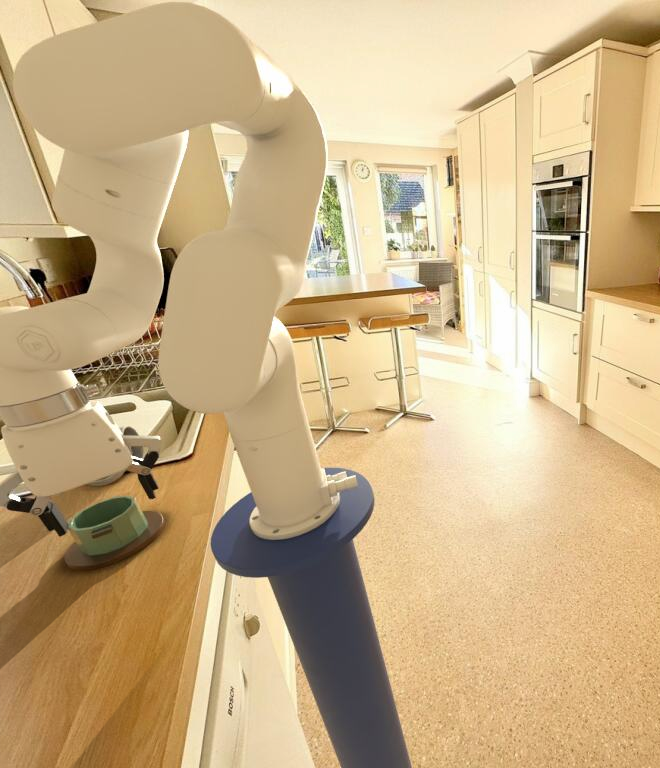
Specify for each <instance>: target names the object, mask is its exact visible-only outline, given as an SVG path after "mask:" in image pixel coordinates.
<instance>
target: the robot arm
mask: <svg viewBox="0 0 660 768" xmlns="http://www.w3.org/2000/svg"><path fill="white" fill-rule="evenodd" d="M12 89H13V95H14V100H15V101H16V104H17V106H18V108H19V110H20V113H21V114H22V115H23V117H24V118H25V120H26V122H27V123H29V125H30V126H31V127H32V128H33V129H34V130H35V131H36V132H37V133H38V134H39V135H40V136H42V137H43V138H44V139H45V140H47V141H48V142H49V143H52V144H54V145H55V146H57V147H59V148H61V149H62V150H63V155H62V160H61V164H60V167H59V171H58V175H57V178H56V183H55V187H54V190H53V194H52V198H51V207H52V211H53V212H54V213H55V215H56V217H58V218H59V220H61V221H62V222H63V223H65V224H66V225H67V226H69V227H71V228H72V229H74V230H76V231H78V232H80V233H82V234H85V235H86V236H88V237H89V238H90V239H91V241H92V242H93V245H94V248H95V253H96V256H95V257H96V260H95V267H94V271H93V274H92V278H91V281H90V284H89V287H88V289H87V292H86V293H82V294H79V295H74V296H70V297H66V298H62V299H58V300H55V301H51V302H47V303H43V304H39V305H36V306H33V307H28V306H24V305H10V306H0V419H1V420H2V421H3V423H4V425H3V426H1V428H0V433H1V437H2V440H3V442H4V445H5V447H6V450H7V452H8V455H9V457H10V459H11V461H12V463H13V465H14V467H15V469H16V470H15V471H14V472H13V473H11V474H10V475H9V476H7V477H6V478H5V479H3V481H1V482H0V507H3V508H5V509H6V510H8V511H11V512H17V513H26V514H30V515H31V516H33V517H38V519H39V520H40V521H41V523H42V524H43V526H44V527H45V528H46V530H47V531H48V532H53V531H55V533H56V534H57V536H58V537H63V536H64V535H66V534H68V528H67V527H68V523H69V521H68V520H67V519H66V518H65V516H64V515H63V513H62V512H61V510H60V509H59V507H58V506H57V504H56V503H55V502H52V501H51V499H52V497H53V496H56V495H59V494H63V493H65V492H68V491H72V490H74V489H76V488H77V489H78V488H80V487H83V486H86V485H89V484H88V483H91V482H94V481H98V480H102V479H105V478H107V477H109V476H111V475H113V474H116V473H118V472H121V471H123V470H125V471H126V472H130V473H134V474H137V479H138V482H139V483H140V485H141V487H142V489H143V491H144V492H145V495H146V496H147V499H149V500H154V499H156V498H157V496H156V491H157V490H159V489H160V488H159V484H158V482H157V481H156V479H155V477H154V475H153V473H152V469H153V467H154V466H155V464H156V463H157V461H158V459H159V458H160V452H161V448H162V443H163V442H162V438H161V436H158V435H139V436H132V435H123V434H122V432H121V431H120V429H119V426H118V425H117V423H116V422H115V420H114V419H113V417H112V416H111V415H110V413H109V412H108V410H107V409H105V407H104V405H102V404H101V403H100V401H98V400H96V399H95V400H93V399H92V400H90V399H91V397H94V396H95V395H99V394H101V391H100V389H99V387H98V385H97V384H96V383H93V384H90V385H89V384H86V385H84V384H83V383H82V384H81V383H80V381H78V379H77V378H76V376H75V375H74V373H73V370H75V369H79V368H83V367H85V366H87V365H90V364H92V363H94V362H96V361H98V360H101V359H104V358H105V357H107V356H108V355H110V354H112V353H114V352H116V351H119V350H122V349H123V348H126V347H128V346H130V345H132V344H134V343H136V342H138V341H139V340H140V339H141V338H142V337H143V336H144V335H145V334H146V333H147V332H148V329H149V328H150V326H151V325H152V322H153V320H154V317H155V314H156V312H157V309H158V305H159V303H160V299H161V296H162V294H163V291H164V290H163V289H164V284H165V283H164V282H165V277H164V275H165V273H164V267H163V261H162V260H163V259H162V255H161V250H160V249H159V246H158V236H159V233H160V229H161V226H162V223H163V220H164V218H165V213H166V210H167V207H168V204H169V201H170V199H171V195H172V192H173V189H174V186H175V183H176V181H177V178H178V174H179V171H180V168H181V164H182V162H183V158H184V155H185V152H186V149H187V144H188V138H189V131H192V130H194V129H197V128H201V127H206V126H209V125H213V124H216V125H218V126H222V127H224V128H227V129H230V130H233V131H236V132H239V134H240V135H242V136H243V137H244V138H245V140H246V151H245V155H244V158H243V160H242V162H241V164H240V166H239V169H238V170H237V171H238V172H237V174H236V177H235V182H234V186H233V194H232V201H231V205H230V208H229V214H228V217H227V221H226V224H225V226H224V228H223V229H216V230H211V231H208V232H204V233H202V234H200V235H198V236H196V237H195V238H192V240H190V241H189V242H188V243H187V244H185V246H184V247H183V248H182V250H180V252H179V254H178V256H177V258H176V259H175V261H174V264H173V266H172V270H171V273H170V277H169V282H168V289H167V295H166V302H165V309H164V315H163V323H162V328H161V336H160V341H159V342H160V343H159V349H158V361H157V362H158V372H159V377H160V380H161V382H162V385H163V387H164V389H165V390H166V392H167V393H168V395H169V396H170V397H171V398H172V399H173V400H174V401H175V402H176V403H177V404H179V405H180V406H182V407H183V408H185V409H187V410H190V411H192V412H195V413H199V414H202V415H219V414H223V416H224V419H225V423H226V426H227V428H228V431H229V435H230V438H231V440H232V443H233V446H234V448H235V451H236V455H237V457H238V459H239V462H240V465H241V468H242V470H243V473H244V476H245V478H246V481H247V485H248V487H249V489H250V492H252V495H253V498H254V501H255V503H256V507H255V508H254V510H253V512H252V513H251V516H250V519H249V524H250V527H251V529H252V531H253V533H254V534H255V535H257V536H258V537H260V538H263V539H269V540H282V539H288V538H292V537H296V536H299V535H302V534H304V533H307V532H309V531H311V530H313V529H315V528H317V527H318V526H320V525H321V524H323V523H324V522H325V521H326V520H327V519H329V518H330V517H331V516H332V515H333V513H334V512H335V511H336V509H337V508H338V505H339V503H340V495H339V492H342V491H345V490H350V489H353V488H356V487H358V484H357V480H356V476H355V475H354V476H351V477H348V478H347V475H346V471H345V472H342V473H338V474H336V475H333V476H330V475H327V476H326V474H325V470H324V468H325V467H321V463H320V459H319V455H318V452H317V449H316V448H317V447H316V445H315V440H314V438H313V434H312V430H311V426H310V422H309V419H308V414H307V410H306V408H305V404H304V403H305V402H304V400H303V396H302V392H301V385H300V381H299V374H298V367H297V360H296V352H295V351H296V350H295V347H294V343H293V339H292V337H291V335H290V333H289V332H288V329H287V328H286V326H285V325H284V324H283V323H282V322H281V321H280V320H279V319H278V318H277V317H276V314H277V311H278V310H280V309H282V308H283V307H284V306H286V305H287V304H288V303H290V302H292V300H293V299H295V297H296V296H297V295H298V294H299V292H300V290H301V288H302V286H303V282H304V277H305V272H306V267H307V262H308V258H309V253H310V249H311V246H312V241H313V237H314V232H315V230H316V229H315V228H316V223H317V218H318V213H319V210H320V205H321V201H322V197H323V192H324V187H325V183H326V180H327V179H326V178H327V171H328V163H329V161H328V159H329V157H328V155H329V154H328V143H327V139H326V138H327V137H326V134H325V130H324V128H323V124H322V121H321V119H320V117H319V114H318V112H317V111H316V109H315V107H314V106H313V104H312V102H311V101H310V99H309V97H307V95H306V93H304V91H303V90H302V88H301V87H300V86H299V85H298V84H297V82H296V81H295V80H294V79H293V78H292V77H291V75H289V73H288V72H287V71H286V70H285V69H284V68H283V67H282V66H281V65H280V64H279V63H278V62H277V61H276V60H275V59H273V57H271V55H269V53H267V52H266V51H265V50H264V49H263V48H262V47H260V46H259V45H257V43H255V42H254V41H253V39H251V38H250V37H249V36H247V34H246V33H245V32H243V30H241V29H240V28H239V27H238V26H236V25H235V24H234V23H233V22H232V21H230V20H228V19H227V18H226V17H224V16H223V15H222V14H221V13H219V12H216V11H214V10H212V9H210V8H208V7H206V6H203V5H199V4H196V3H192V2H188V1H187V2H186V1H185V2H184V1H167V2H160V3H157V4H153V5H149V6H145V7H141V8H139V9H135V10H133V11H129V12H126V13H123V14H119V15H116V16H113V17H109V18H106V19H103V20H99V21H96V22H93V23H92V22H91V23H89V24H86V25H82V26H79V27H76V28H73V29H69V30H67V31H63V32H61V33H57V34H54V35H52V36H50V37H47V38H45V39H43V40H42V41H40V42H38V43H36V44H34V45H32V46H31V47H30V48H28V49H27V50H26V51H25V52H24V53H23V54H22V55H21V56H20V58H19V59H18V61H17V63H16V65H15V68H14V72H13V73H12ZM130 446H144V447H147V448H148V449H147V452H146V454H144V459H140V458H136V457H133V456H131V455H132V450H131V448H130ZM321 468H322V469H321ZM22 483H24V485H25V486H26V488H27V490H28V491H29V492H30V493H31V495H33V496H34V498H32V497H26V496H19V495H18V496H17V495H14V494H13V493H11V492H12V491H13V490H14V489H16V488H17V487H18V486H20V485H21V484H22Z"/></svg>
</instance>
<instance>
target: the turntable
mask: <svg viewBox="0 0 660 768" xmlns="http://www.w3.org/2000/svg"><path fill="white" fill-rule="evenodd" d="M142 512H143V514H144V516H145V518H146V520H147V529H146V530H145V531H144V532H143V533H142V534H141V535H140V536H139V537H138V538H137V539H135V540H133V541H132V542H130V543H129V544H127V545H125V546H124V547H121V548H119V549H116V550H114V551H111V552H109V553H105V554H100V555H92V556H89V555H87V554H85V553H83V552H82V551H81V550H80V548H79V546H78V545H77V543H76V541H75V540H74V542H72V544H71V545H70V546H69V547H68V548H67V550H66V551H65V553H64V556H63V557H64V558H63V559H64V562H65V564H66V565H67V567H68V568H70V569H71V570H75V571H91V570H96V569H101V568H104V567H107V566H110V565H114V564H116V563H118V562H120V561H123V560H126V559H127V558H129V557H131V556H133V555H135V554H136V553H137V552H140V551H141V550H143V549H144V548H146V547H147V546H148V545H150V544H151V543H152V542H154V540H156V539H157V537H159V535H160V534H161V533H162V531H163V530H164V528H165V525H166V524H165V523H166V522H165V519H164V517H163V515H162V514H161V513H160V512H158V511H154V510H142Z"/></svg>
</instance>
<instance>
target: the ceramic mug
mask: <svg viewBox="0 0 660 768" xmlns="http://www.w3.org/2000/svg"><path fill="white" fill-rule="evenodd" d="M118 427H119V426H118ZM119 429H120V431H121V432H122V434H123V435H132V436H140V435H139V433H138V432H137V430H136V429H135V428H134V427H132V426H130V425H124V426H120V427H119ZM130 448H131V450H132V455H131V456H133V457H136V458H140V459H144V457H145V446H130ZM125 472H126V470H123V471H121V472H118V473H116V474H113V475H111V476H108V477H105V478H102V479H99V480H97V481H94V482H91V483H88V484H87V485H89V486H92V487H104V486H107V485H110V484H112V483H115V482H117V480H119V479H120V478H121V477H122V476H123V475H124V473H125Z"/></svg>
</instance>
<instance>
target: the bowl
mask: <svg viewBox="0 0 660 768" xmlns="http://www.w3.org/2000/svg"><path fill="white" fill-rule="evenodd" d="M136 498H137V497H134V496H131V495H118V496H112V497H109V498H107V499H103V500H101V501H97V502H95V503H93V504H90V505H89V506H87V507H86V508H83V509H81V510H79V511H78V513H76V514H75V515H74V516H72V517H71V519H69V520H68V527H67V528H68V529H67V531H68V532H69V533H70V535H71V536H72V538H73V540H74V542H75V541H76V543H77V545H78V546H79V548H80V550H81V551H82V552H83V553H85V554H87V555H89V556H92V555H100V554H105V553H109V552H111V551H114V550H116V549H119V548H121V547H124V546H125V545H127V544H129V543H130V542H132V541H133V540H135V539H137V538H138V537H139V536H140V535H141V534H142V533H143V532H144V531H145V530H146V529H147V520H146V518H145V516H144V514H143V512H142V511H143V509H142V508H141V506H140V504H139V502H138V500H137V499H136Z"/></svg>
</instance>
